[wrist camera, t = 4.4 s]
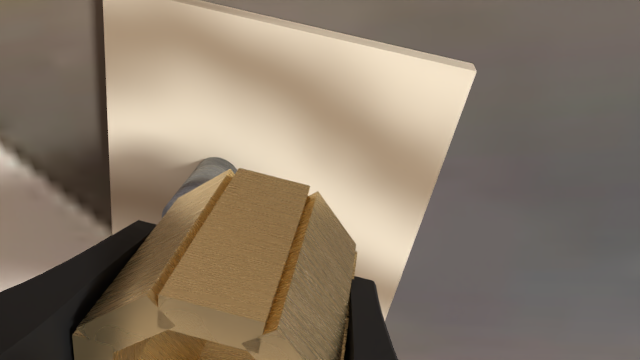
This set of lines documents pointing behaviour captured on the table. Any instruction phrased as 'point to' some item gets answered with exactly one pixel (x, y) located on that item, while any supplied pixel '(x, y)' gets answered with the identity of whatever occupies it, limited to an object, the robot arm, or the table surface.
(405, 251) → the plate
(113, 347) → the octagonal wooden pipe
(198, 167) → the pin
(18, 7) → the table surface
